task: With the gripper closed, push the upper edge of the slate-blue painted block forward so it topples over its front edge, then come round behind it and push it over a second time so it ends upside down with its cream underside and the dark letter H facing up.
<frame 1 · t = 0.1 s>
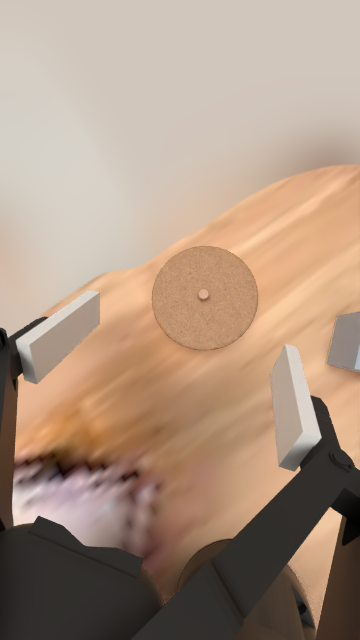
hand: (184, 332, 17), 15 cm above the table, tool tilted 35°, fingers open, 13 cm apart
block: (356, 346, 30), on the table
lidded jar: (204, 308, 33), on the table
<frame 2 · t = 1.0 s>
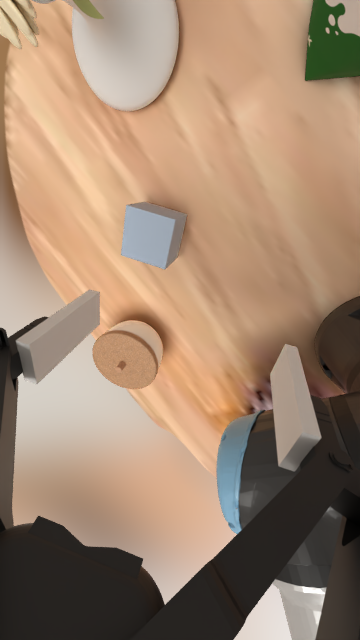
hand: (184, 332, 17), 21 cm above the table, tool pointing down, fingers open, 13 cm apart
milk carton: (355, 26, 22), on the table
block: (162, 230, 35), on the table
flower in vase: (137, 55, 27), on the table
lidded jar: (142, 336, 45), on the table
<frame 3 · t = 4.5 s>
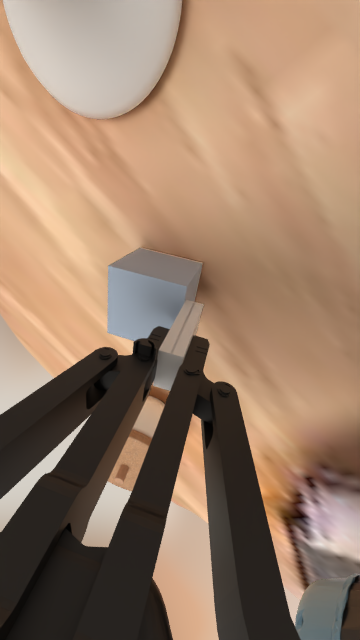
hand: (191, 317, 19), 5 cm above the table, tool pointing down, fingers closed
block: (167, 284, 24), on the table, touching gripper
flower in vase: (113, 27, 17), on the table
lidded jar: (149, 409, 34), on the table
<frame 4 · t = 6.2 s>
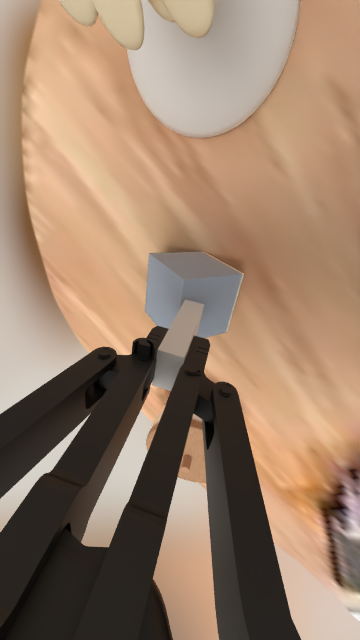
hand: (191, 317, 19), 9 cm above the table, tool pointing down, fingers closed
block: (215, 290, 25), point 2 cm above the table, tilted 45°
flower in vase: (216, 56, 18), on the table
lidded jar: (200, 404, 36), on the table
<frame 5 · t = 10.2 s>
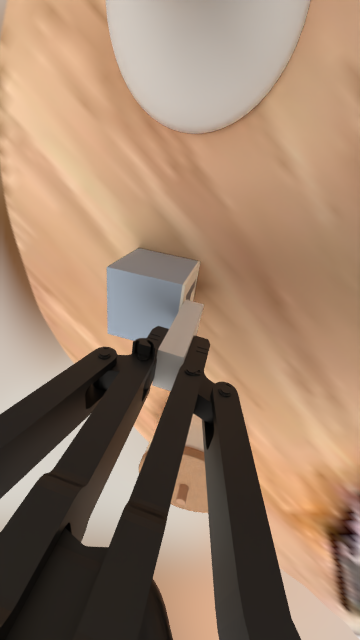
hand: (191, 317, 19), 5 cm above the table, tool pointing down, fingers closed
block: (188, 304, 22), point 3 cm above the table, tilted 90°, touching gripper
flower in vase: (214, 37, 16), on the table
lidded jar: (198, 424, 34), on the table
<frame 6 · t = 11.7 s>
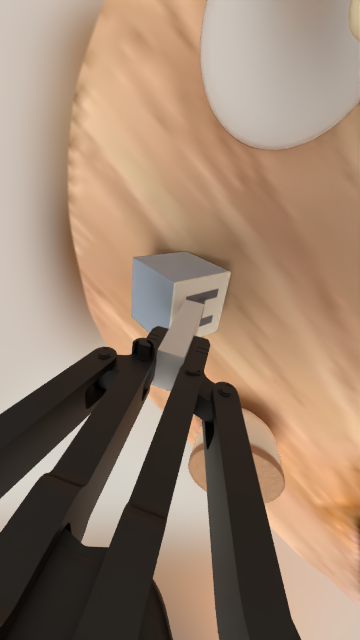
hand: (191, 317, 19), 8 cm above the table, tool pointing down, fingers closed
block: (199, 310, 21), point 6 cm above the table, tilted 127°
flower in vase: (294, 62, 17), on the table
lidded jar: (237, 421, 35), on the table
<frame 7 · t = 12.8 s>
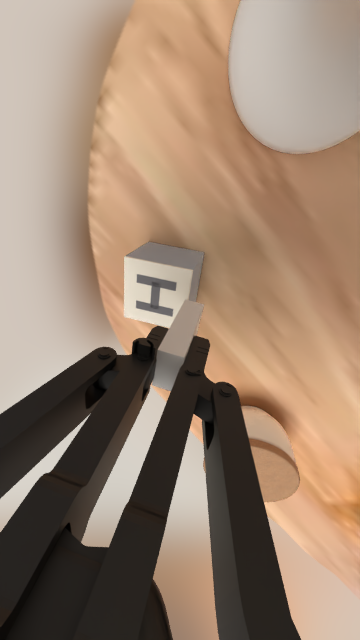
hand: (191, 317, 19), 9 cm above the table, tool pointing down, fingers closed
block: (155, 295, 22), point 6 cm above the table, tilted 180°
flower in vase: (320, 68, 17), on the table
lidded jar: (249, 419, 35), on the table
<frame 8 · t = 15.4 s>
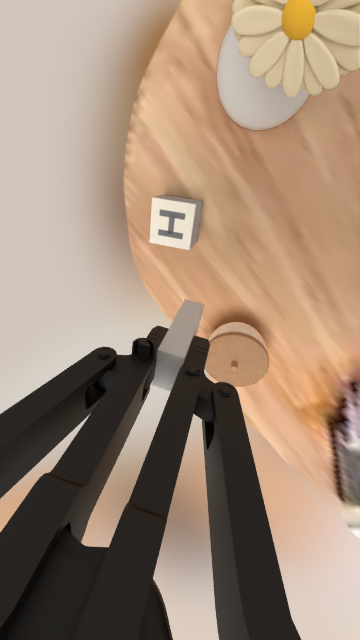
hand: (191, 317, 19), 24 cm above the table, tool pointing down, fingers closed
block: (171, 224, 34), point 6 cm above the table, tilted 180°
flower in vase: (270, 79, 29), on the table
lidded jar: (236, 336, 48), on the table
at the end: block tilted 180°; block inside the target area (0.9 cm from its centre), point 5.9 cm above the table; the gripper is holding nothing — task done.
